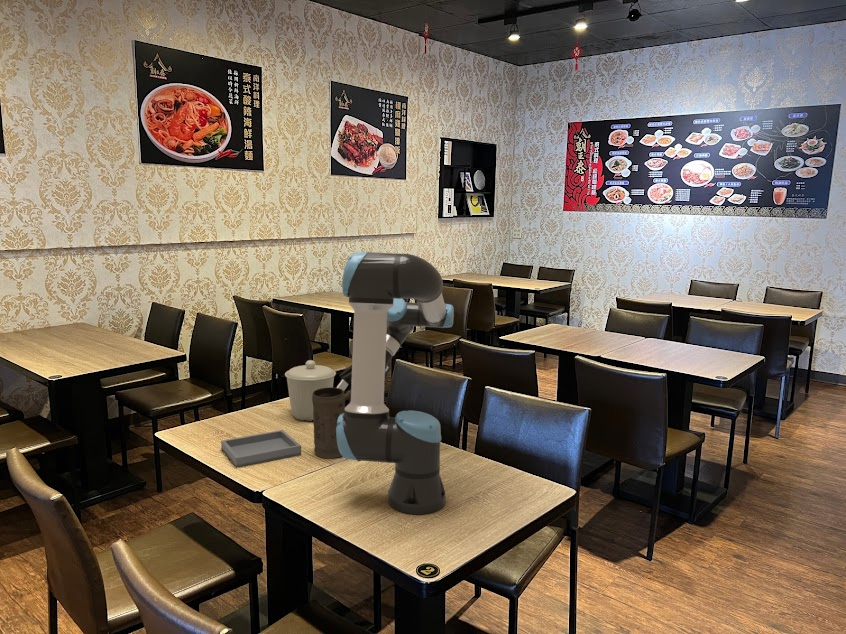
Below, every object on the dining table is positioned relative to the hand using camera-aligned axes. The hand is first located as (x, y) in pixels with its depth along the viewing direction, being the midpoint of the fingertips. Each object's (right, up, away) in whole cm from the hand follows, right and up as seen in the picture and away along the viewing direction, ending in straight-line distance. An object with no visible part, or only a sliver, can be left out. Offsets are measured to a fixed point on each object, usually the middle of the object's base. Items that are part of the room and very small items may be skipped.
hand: (345, 403), depth 198 cm
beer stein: (-3, -15, -1) cm, 15 cm away
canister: (-17, -9, +30) cm, 36 cm away
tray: (-26, -15, -4) cm, 30 cm away
